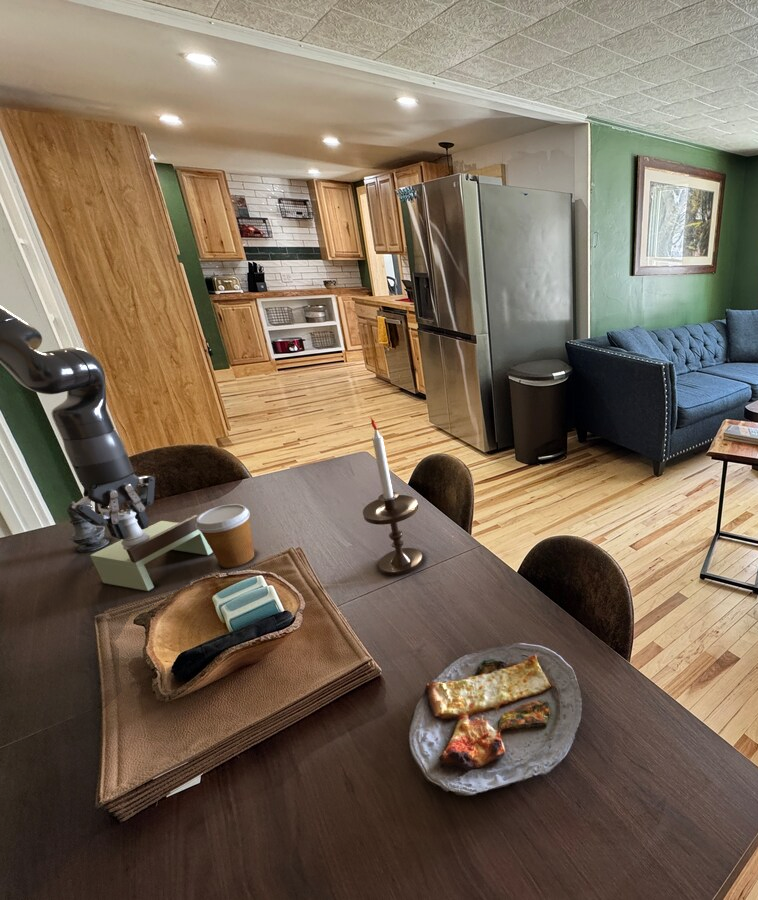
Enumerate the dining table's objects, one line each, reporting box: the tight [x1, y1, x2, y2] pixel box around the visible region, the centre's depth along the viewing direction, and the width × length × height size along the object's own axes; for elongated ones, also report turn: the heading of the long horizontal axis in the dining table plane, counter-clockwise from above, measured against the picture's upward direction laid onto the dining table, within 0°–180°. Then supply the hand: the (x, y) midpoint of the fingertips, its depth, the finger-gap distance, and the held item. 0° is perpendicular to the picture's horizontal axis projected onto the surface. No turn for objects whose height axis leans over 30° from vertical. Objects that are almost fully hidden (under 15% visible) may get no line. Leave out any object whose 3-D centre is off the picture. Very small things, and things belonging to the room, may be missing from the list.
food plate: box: [407, 641, 583, 797], centre depth 71 cm, size 25×23×4 cm
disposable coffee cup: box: [196, 503, 255, 568], centre depth 105 cm, size 10×10×12 cm
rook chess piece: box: [118, 508, 150, 550], centre depth 96 cm, size 4×4×8 cm
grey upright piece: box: [66, 500, 110, 553], centre depth 110 cm, size 6×6×12 cm
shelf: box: [89, 514, 214, 592], centre depth 103 cm, size 12×14×10 cm
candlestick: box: [362, 416, 423, 577], centre depth 100 cm, size 11×11×35 cm
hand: (132, 532), depth 96 cm, fingers closed on rook chess piece, 3 cm apart
